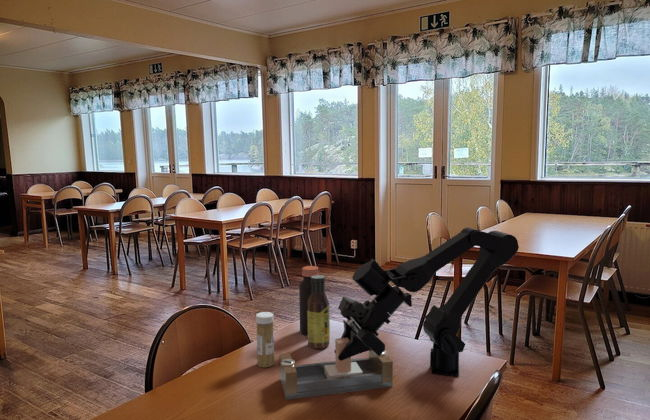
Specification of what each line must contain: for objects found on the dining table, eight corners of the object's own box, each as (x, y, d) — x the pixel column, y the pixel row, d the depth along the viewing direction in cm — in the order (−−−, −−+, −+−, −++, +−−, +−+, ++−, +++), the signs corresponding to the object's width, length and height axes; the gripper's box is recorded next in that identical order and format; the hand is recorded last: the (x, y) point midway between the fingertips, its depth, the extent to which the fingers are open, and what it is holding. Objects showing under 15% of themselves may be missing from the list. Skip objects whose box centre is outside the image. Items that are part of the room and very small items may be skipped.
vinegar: (295, 331, 147) (294, 267, 144) (313, 326, 151) (312, 264, 148) (308, 338, 141) (307, 271, 139) (326, 332, 146) (326, 268, 143)
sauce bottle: (329, 350, 133) (329, 280, 130) (307, 350, 133) (306, 280, 131) (329, 340, 139) (329, 273, 137) (308, 340, 140) (307, 273, 137)
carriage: (355, 368, 118) (355, 334, 117) (362, 379, 113) (362, 343, 112) (324, 372, 116) (323, 337, 115) (329, 383, 111) (329, 346, 110)
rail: (379, 367, 122) (379, 342, 121) (393, 386, 112) (394, 359, 111) (278, 379, 116) (278, 352, 115) (284, 400, 107) (284, 371, 106)
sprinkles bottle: (274, 367, 123) (273, 316, 121) (256, 368, 122) (255, 317, 120) (274, 359, 127) (273, 310, 125) (256, 360, 126) (255, 311, 125)
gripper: (348, 275, 122) (306, 321, 121) (371, 297, 104) (322, 351, 103) (377, 303, 124) (336, 348, 123) (405, 329, 106) (357, 382, 105)
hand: (337, 356), depth 113 cm, fingers closed on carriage, 3 cm apart
